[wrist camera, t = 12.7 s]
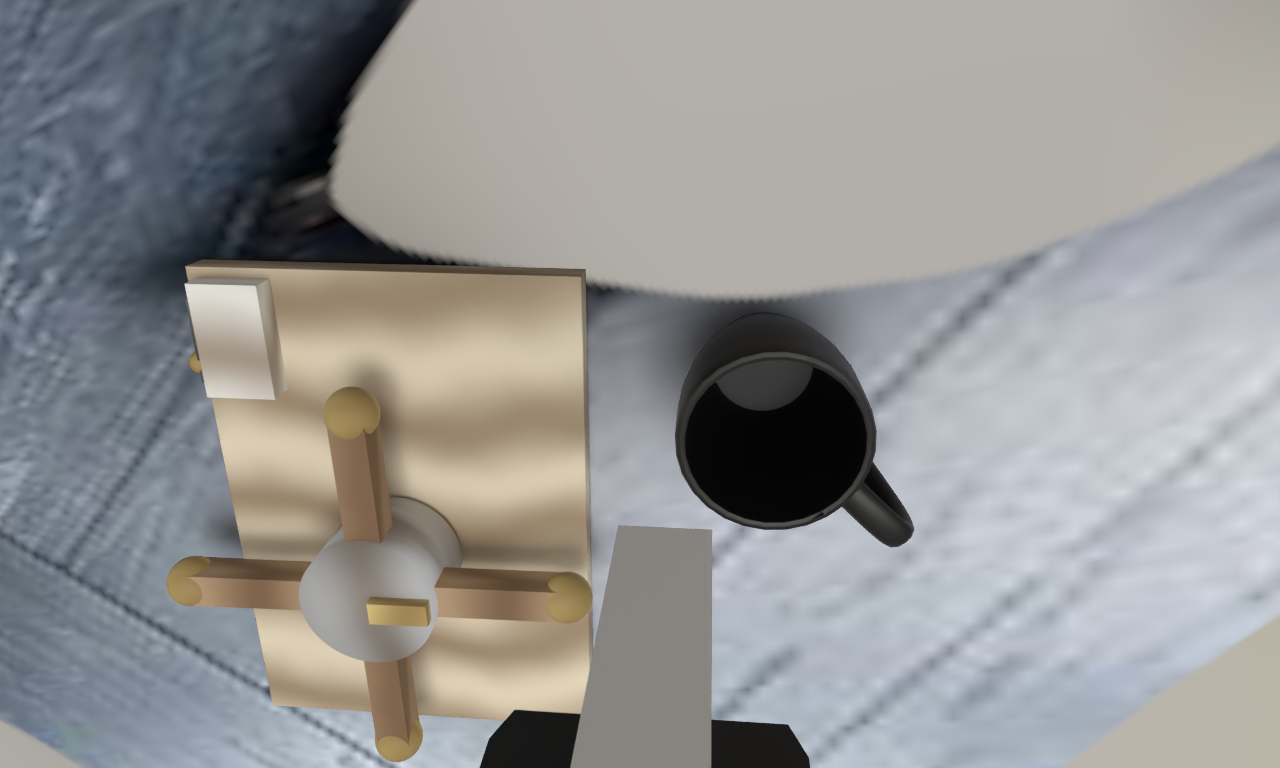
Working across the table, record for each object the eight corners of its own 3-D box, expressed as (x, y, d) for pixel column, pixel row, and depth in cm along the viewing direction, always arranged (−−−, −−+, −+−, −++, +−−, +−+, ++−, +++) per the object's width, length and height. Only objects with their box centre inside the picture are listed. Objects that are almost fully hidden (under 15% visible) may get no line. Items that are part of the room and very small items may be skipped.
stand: (198, 259, 44) (164, 273, 41) (585, 269, 42) (576, 284, 39) (281, 687, 54) (259, 721, 51) (594, 707, 53) (587, 743, 50)
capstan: (243, 699, 52) (191, 771, 47) (164, 357, 44) (91, 399, 39) (605, 719, 51) (592, 797, 45) (595, 367, 42) (578, 412, 37)
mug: (812, 507, 46) (836, 616, 37) (649, 367, 44) (633, 447, 35) (928, 408, 43) (983, 500, 35) (761, 252, 41) (774, 308, 32)
